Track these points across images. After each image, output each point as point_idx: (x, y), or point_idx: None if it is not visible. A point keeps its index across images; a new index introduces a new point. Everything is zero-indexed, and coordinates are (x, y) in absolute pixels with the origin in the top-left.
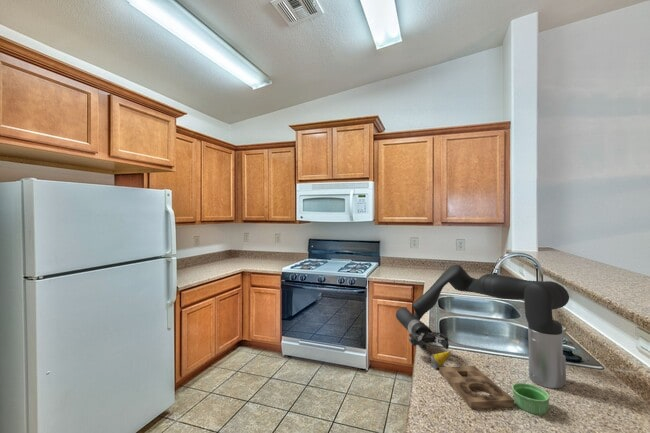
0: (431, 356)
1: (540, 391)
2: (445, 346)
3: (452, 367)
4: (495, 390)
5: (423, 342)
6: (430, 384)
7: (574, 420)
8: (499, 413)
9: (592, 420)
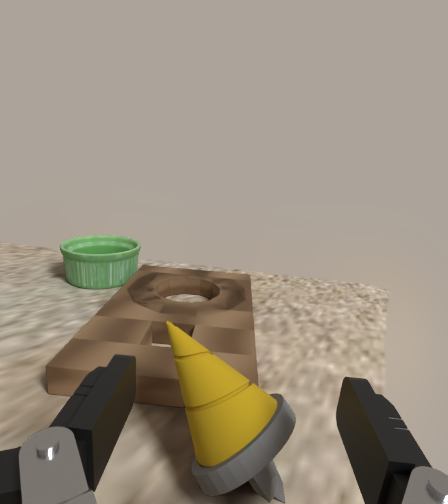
0: (290, 412)
1: (67, 248)
2: (130, 393)
3: None
4: (151, 281)
5: (370, 409)
6: (328, 360)
7: None
8: None
9: (42, 253)
